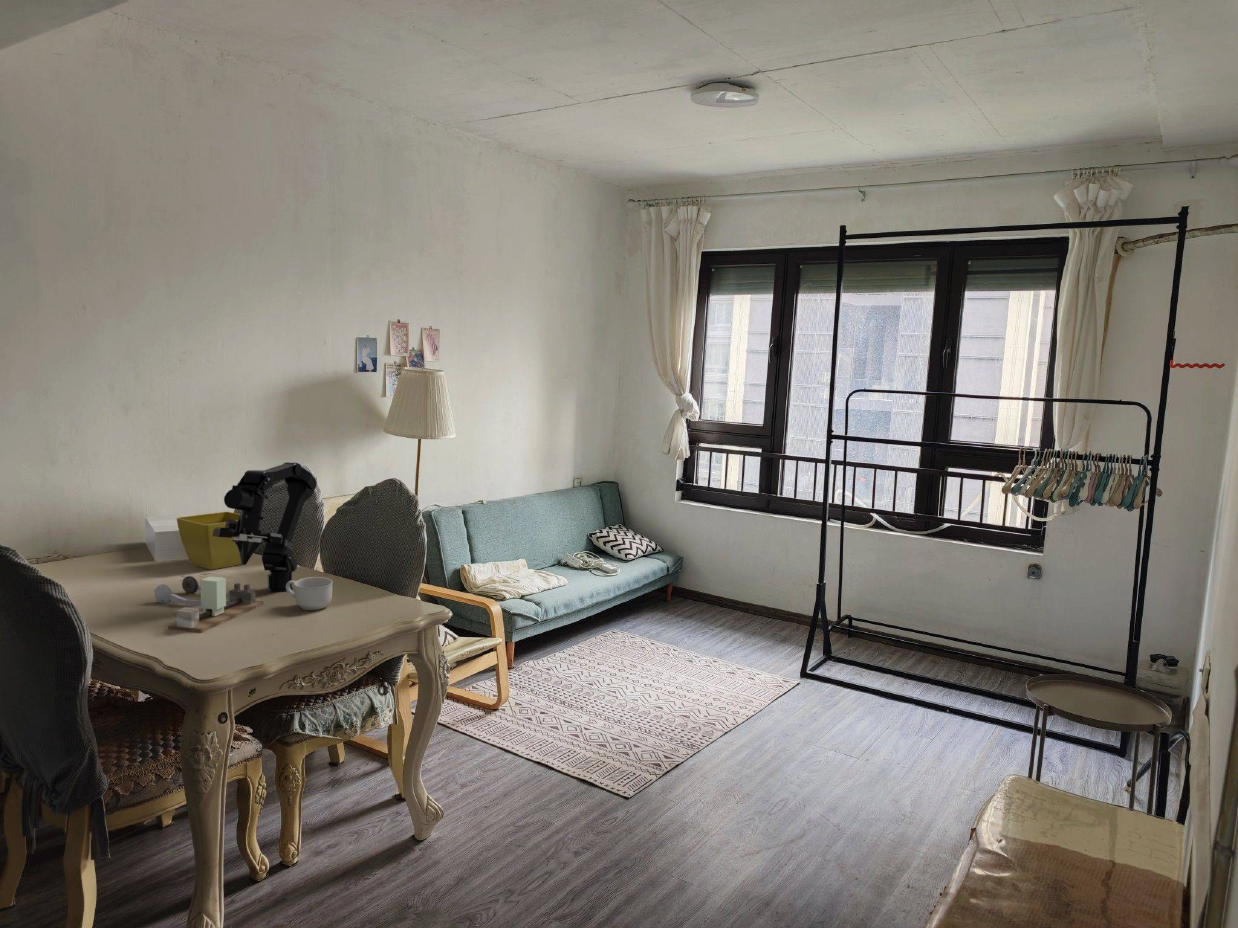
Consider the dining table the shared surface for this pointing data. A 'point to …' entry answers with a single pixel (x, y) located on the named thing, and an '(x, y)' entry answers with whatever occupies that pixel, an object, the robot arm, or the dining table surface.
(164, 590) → the headphones
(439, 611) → the dining table surface
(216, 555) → the flower pot
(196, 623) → the cord board
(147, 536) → the white rectangular box
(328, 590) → the teacup
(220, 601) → the pale green box
